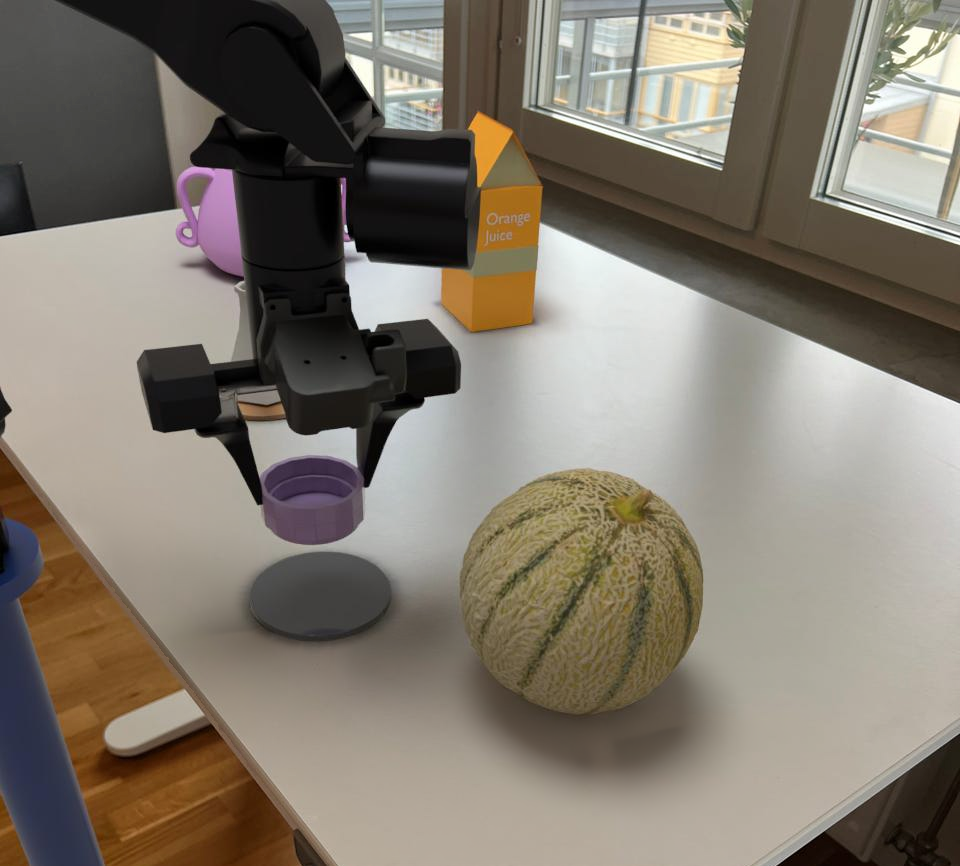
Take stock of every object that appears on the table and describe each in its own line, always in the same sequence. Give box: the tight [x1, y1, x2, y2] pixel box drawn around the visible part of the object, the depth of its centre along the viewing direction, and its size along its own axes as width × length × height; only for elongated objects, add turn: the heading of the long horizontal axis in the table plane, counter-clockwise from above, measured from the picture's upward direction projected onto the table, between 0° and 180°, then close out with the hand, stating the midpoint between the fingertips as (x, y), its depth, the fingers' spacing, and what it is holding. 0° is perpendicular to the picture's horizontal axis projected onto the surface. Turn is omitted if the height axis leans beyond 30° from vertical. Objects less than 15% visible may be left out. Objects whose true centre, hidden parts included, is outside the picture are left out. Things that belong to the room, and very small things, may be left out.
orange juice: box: [440, 110, 544, 333], centre depth 106 cm, size 8×9×20 cm
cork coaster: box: [238, 401, 286, 421], centre depth 95 cm, size 11×11×1 cm
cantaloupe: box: [459, 467, 704, 715], centre depth 60 cm, size 15×15×15 cm
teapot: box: [175, 165, 352, 278], centre depth 117 cm, size 22×22×14 cm
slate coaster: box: [248, 551, 392, 642], centre depth 71 cm, size 10×10×1 cm
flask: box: [230, 280, 281, 405], centre depth 92 cm, size 7×7×10 cm
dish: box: [259, 454, 367, 546], centre depth 66 cm, size 7×7×3 cm
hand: (312, 493), depth 66 cm, fingers closed on dish, 7 cm apart
